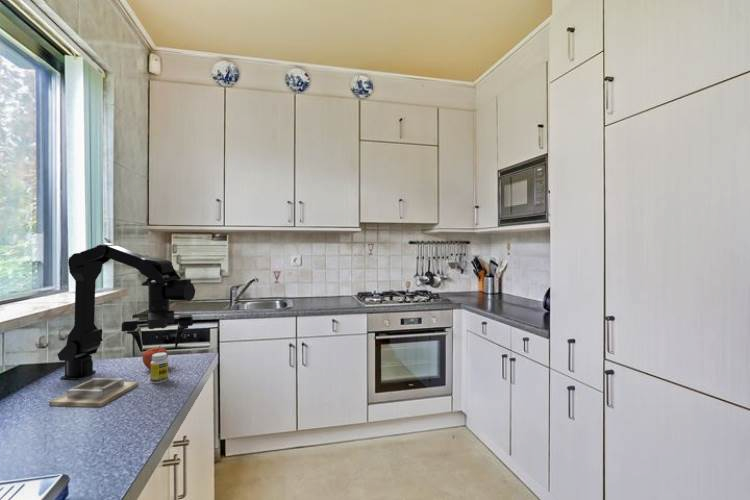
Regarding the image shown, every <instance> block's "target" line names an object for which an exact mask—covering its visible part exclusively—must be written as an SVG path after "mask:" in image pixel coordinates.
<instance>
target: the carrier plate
mask: <svg viewBox="0 0 750 500" xmlns="http://www.w3.org/2000/svg"><path fill="white" fill-rule="evenodd" d="M138 386H139V382H138V381H137V382H136V381H125V378H117V377H114V378H113V377H111V378H110V377H93V378H91V379H89V380H87V381H84V382H82V383H81V384H78V385H76V386H74V387H72V388H69V389H67V390H66V393H64V394H63V395H60V396H59V397H56V398H54V399H51V400H50V401H49V402H48V403H49V406H57V407H58V406H64V407H88V408H90V407H94V408H96V407H97V408H101V407H103V406H105V405H106V404H108V403H110V402H112V401H113V400H115V399H117V398H119V397H120V396H122V395H124V394H126V393H128V392H129V391H131V390H133V389H134V388H136V387H138Z"/></svg>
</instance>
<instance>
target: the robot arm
mask: <svg viewBox="0 0 750 500" xmlns="http://www.w3.org/2000/svg"><path fill="white" fill-rule="evenodd" d="M110 260H112V261H115V262H118V263H120V264H123V265H125V266H128V267H131V268H134V269H136V270H138V272H139V273H140V275H143V276H144V277H146V279H145V280H144V281H143V282H142V283H141V286H144V287H148V295H147V296H148V297H147V298H148V301H147V302H148V303H147V305H148V310H147V311H148V312H147V314H146V319H145V320H144V319H143V320H140V317H133V318H125V319H124V320H123V322H121V332H124V333H127V335H131V336H132V337H133V338H134V340H135V342H136V344H137V347H138V349H139V351H140V353H142V352H143V351H144V350H143V349H144V346H143V337H142V328H141V327H143V328H144V327H147V328H148V329H149V330H154V329H166V328H168V325H177V329H176V336H175V342H174V348H175V349H178V345H179V342H180V339H181V336H182V335H183V333H184V332H185V330H186V329H189V327H191V326H193V325H194V320H193V319H194V317H193V316H194V315H193V314H191V313H190V314H189V313H187V314H186V313H185V314H179V315H178V317H175V310H171V308H170V307H171V303H170V302H191V301H192V300H193V299H194V298H195V294H196V288H195V286H194V284H193V283H192V279H191V278H185V279H182V278H181V277H180V276H179V274H178V273H177V271H176V269H175V267H174V265H173V263H172V261H170V260H169V259H165V258H159V257H158V258H157V257H150V256H145V255H142V254H140V253H137V252H134V251H131V250H129V249H127V248H124V247H121V246H119V245H117V244H115V243H101V244H98V245H96V246H94V247H93V248H89V249H86V250H83V251H81V252H77V253H75V252H74V253H73V254H71V256H69V257H68V260H67V261H68V270H69V271H68V272H69V274H70V276H71V277H72V278H73V279H74V283H75V288H74V289H75V291H74V295H75V296H74V321H73V322H74V325H73V327H72V329H71V330H70V331H69V333H68V335H67V338H66V339H67V340H66V344H65V346H64V347H63V348H62V349H61V350H60V351H59V352H57V358H58V360H59V361H62V362H63V361H64V375H62V376H60V377H59V378H60V380H81V379H84V378H85V377H88V376H90V375H92V374H93V375H94V373H97V371H96V370H94V369H93V368H94V363H93V362H94V360H93V359H92V358H93V355H94V354H97V351H98V349H99V347H100V346H101V344H102V342H103V341H104V340H103V329H102V328H100V329H99V328H98V327H97V325H95V316H96V315H95V314H96V313H95V310H96V309H95V307H96V305H95V304H96V282H97V281H96V280H97V279H98V277H99V276H100V274H101V273H102V269H103V266H104V264H106V263H108V262H110Z"/></svg>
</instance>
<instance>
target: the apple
mask: <svg viewBox="0 0 750 500" xmlns="http://www.w3.org/2000/svg"><path fill="white" fill-rule="evenodd" d="M162 352H164V353H167V358H166V359H168V358H169V356H168V355H169V353H168V351H167V349H165V348H163V347H161V346H158V347H152V348H149V349H147V350H145V351H144V352H143V354H142V362H143V365H144V366H145V367H146V368H147V369H148V370H151V361H153V360H152V355H153V354H156V353H162Z"/></svg>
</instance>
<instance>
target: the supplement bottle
mask: <svg viewBox="0 0 750 500" xmlns="http://www.w3.org/2000/svg"><path fill="white" fill-rule="evenodd" d="M167 353H168V352H167ZM167 353H164V352H162V353H156V354H153V355H152V360H153V361H151V369H150V374H149V375H150V378H149V379H150V380H149V381H150V383H151V384H162V383H164V382H167V381H168V380H169V360H168V358H167ZM166 358H167V359H166Z"/></svg>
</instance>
